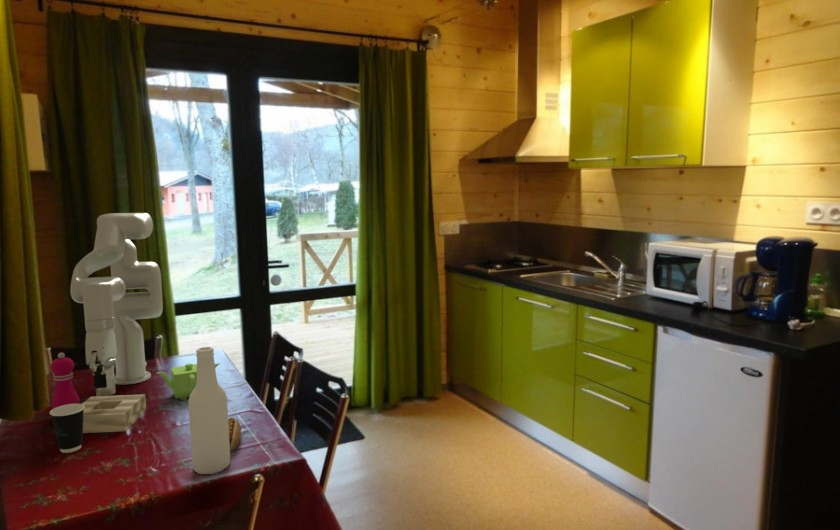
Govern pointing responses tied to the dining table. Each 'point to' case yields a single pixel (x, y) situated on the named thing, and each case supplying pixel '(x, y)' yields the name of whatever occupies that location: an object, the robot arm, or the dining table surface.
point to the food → (234, 433)
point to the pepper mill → (63, 382)
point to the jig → (112, 412)
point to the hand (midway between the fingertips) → (105, 383)
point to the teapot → (182, 380)
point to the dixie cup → (68, 426)
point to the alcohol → (208, 418)
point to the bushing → (108, 378)
